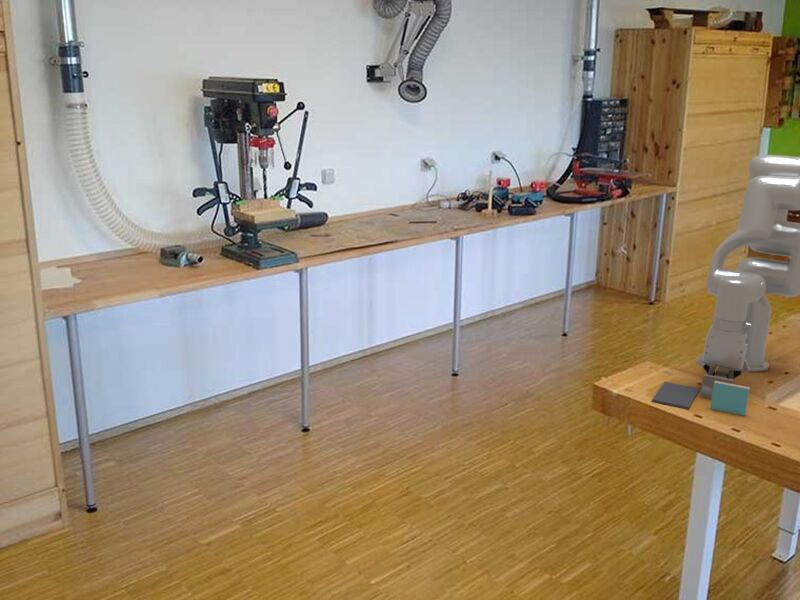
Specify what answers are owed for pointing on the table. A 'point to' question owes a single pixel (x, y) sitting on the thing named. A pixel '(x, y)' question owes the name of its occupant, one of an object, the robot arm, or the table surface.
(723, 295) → the robot arm
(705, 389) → the scraper
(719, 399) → the tile
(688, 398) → the mat
